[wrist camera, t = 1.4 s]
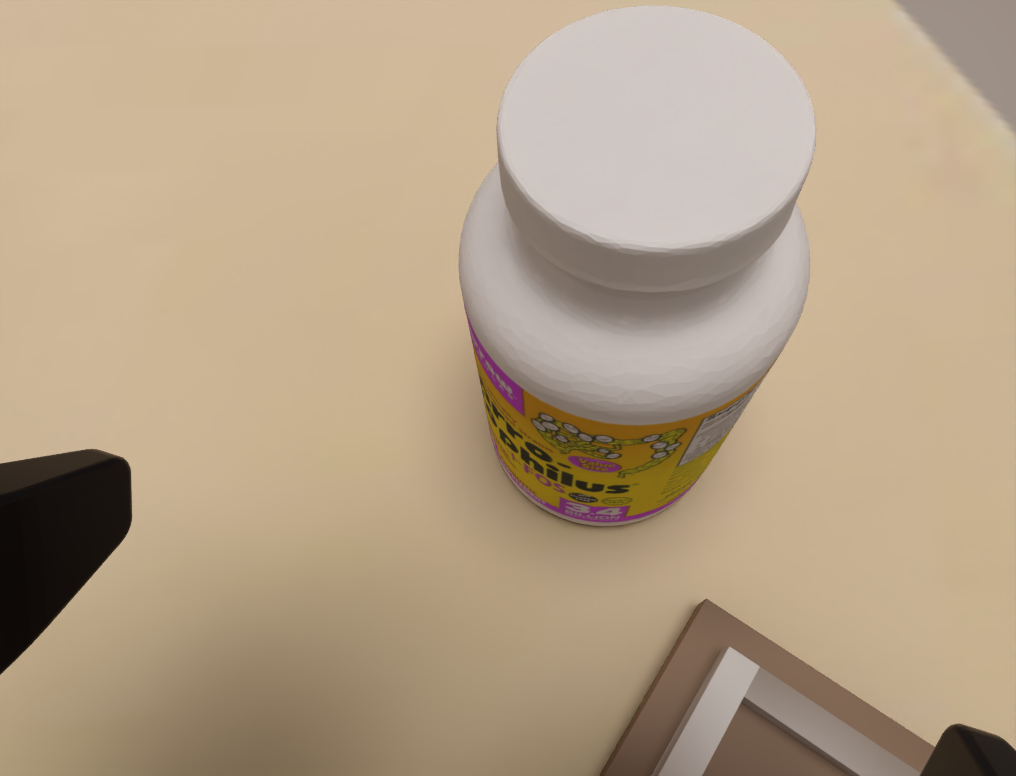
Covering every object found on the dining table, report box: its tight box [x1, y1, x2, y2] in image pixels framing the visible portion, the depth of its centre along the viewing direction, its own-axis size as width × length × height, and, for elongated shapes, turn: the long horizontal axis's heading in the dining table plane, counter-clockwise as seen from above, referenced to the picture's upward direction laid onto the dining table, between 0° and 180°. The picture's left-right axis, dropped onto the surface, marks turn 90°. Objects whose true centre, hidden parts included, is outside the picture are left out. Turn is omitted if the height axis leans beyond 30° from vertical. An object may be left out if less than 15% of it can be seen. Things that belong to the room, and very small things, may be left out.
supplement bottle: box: [459, 5, 816, 526], centre depth 17 cm, size 7×7×13 cm
